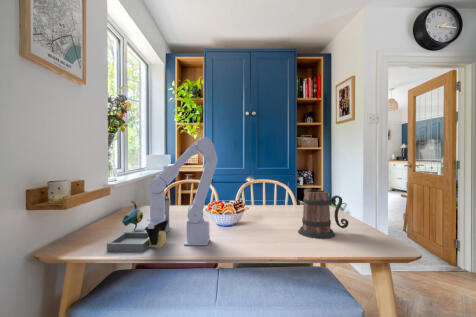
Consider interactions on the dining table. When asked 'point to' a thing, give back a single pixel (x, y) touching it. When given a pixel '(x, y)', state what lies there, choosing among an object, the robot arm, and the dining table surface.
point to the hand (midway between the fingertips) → (157, 241)
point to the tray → (129, 242)
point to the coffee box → (167, 212)
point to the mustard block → (159, 239)
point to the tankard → (319, 215)
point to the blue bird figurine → (133, 216)
